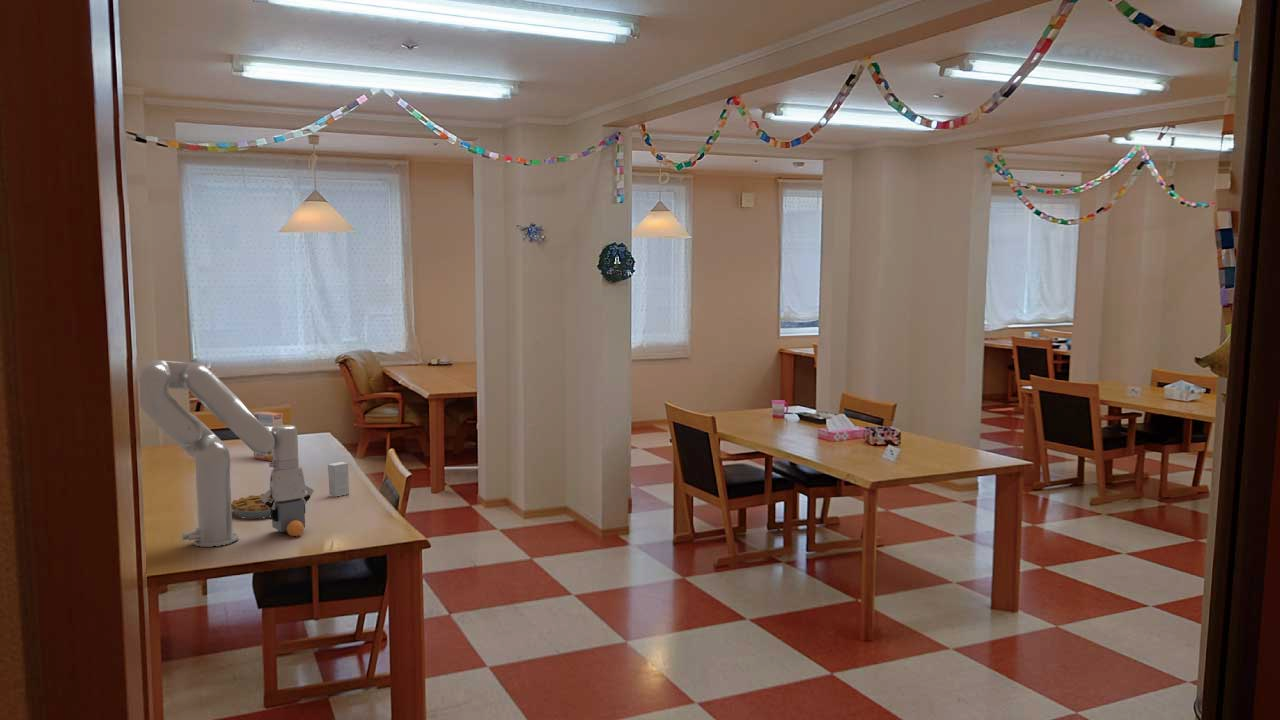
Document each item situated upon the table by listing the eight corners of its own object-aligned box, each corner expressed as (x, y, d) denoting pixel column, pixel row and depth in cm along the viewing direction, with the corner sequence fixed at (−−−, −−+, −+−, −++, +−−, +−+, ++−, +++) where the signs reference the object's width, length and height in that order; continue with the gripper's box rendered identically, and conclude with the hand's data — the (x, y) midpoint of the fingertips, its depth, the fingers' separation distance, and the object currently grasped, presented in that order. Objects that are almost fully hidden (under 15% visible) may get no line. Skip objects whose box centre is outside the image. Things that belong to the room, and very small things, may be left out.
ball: (288, 541, 295) (290, 528, 293) (283, 530, 299) (285, 518, 297) (304, 538, 298) (306, 526, 296) (299, 528, 302) (301, 516, 300)
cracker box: (285, 459, 417) (283, 412, 415) (273, 462, 412) (271, 414, 410) (265, 456, 425) (263, 410, 423) (253, 459, 420) (251, 412, 418)
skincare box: (343, 492, 355) (341, 461, 354) (349, 494, 352) (348, 462, 351) (328, 495, 351) (327, 464, 349) (335, 497, 348) (334, 465, 347)
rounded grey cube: (280, 531, 297) (279, 504, 296) (272, 526, 303) (271, 499, 302) (305, 527, 302) (304, 500, 301) (296, 522, 308) (295, 495, 307)
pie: (221, 511, 329) (221, 497, 329) (285, 501, 343) (284, 488, 343) (242, 524, 313) (241, 509, 312) (307, 513, 327) (307, 499, 326)
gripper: (262, 470, 292) (264, 525, 294) (317, 462, 303) (319, 516, 305) (253, 466, 298) (256, 521, 299) (308, 458, 309) (310, 511, 311)
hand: (288, 518), depth 302 cm, fingers closed on rounded grey cube, 7 cm apart
